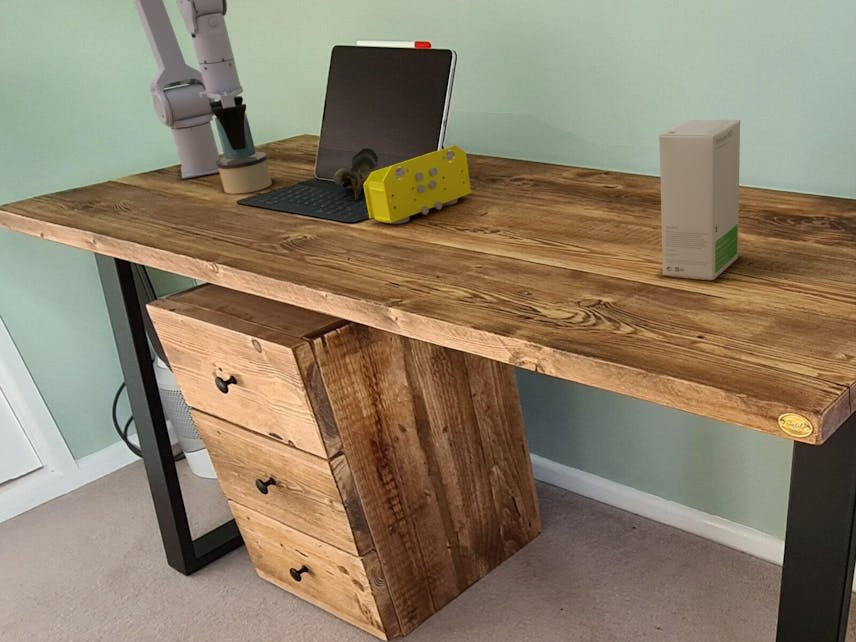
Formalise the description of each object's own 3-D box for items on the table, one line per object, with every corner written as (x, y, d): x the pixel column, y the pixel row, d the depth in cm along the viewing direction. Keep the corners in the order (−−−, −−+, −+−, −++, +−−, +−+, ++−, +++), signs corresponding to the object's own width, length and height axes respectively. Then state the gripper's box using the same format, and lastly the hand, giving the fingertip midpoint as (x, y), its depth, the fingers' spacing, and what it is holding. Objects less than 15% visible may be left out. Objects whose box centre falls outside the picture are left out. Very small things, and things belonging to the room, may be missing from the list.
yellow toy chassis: (394, 229, 128) (383, 169, 124) (369, 223, 132) (358, 165, 127) (473, 198, 138) (466, 142, 133) (448, 194, 141) (441, 139, 137)
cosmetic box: (713, 282, 99) (715, 136, 91) (657, 276, 102) (654, 134, 94) (740, 257, 105) (744, 117, 97) (686, 252, 108) (686, 116, 100)
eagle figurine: (390, 188, 143) (390, 165, 150) (358, 155, 139) (359, 132, 146) (355, 217, 146) (356, 193, 153) (323, 186, 142) (326, 162, 148)
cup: (224, 155, 158) (213, 116, 154) (254, 149, 159) (244, 111, 156) (225, 161, 153) (215, 121, 150) (257, 155, 155) (247, 115, 151)
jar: (221, 186, 162) (214, 157, 159) (270, 177, 164) (263, 148, 161) (224, 197, 155) (216, 167, 152) (275, 187, 157) (268, 158, 154)
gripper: (190, 60, 153) (212, 142, 161) (193, 69, 142) (216, 157, 149) (232, 54, 155) (252, 135, 162) (238, 62, 143) (259, 150, 150)
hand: (237, 145), depth 155 cm, fingers closed on cup, 5 cm apart
